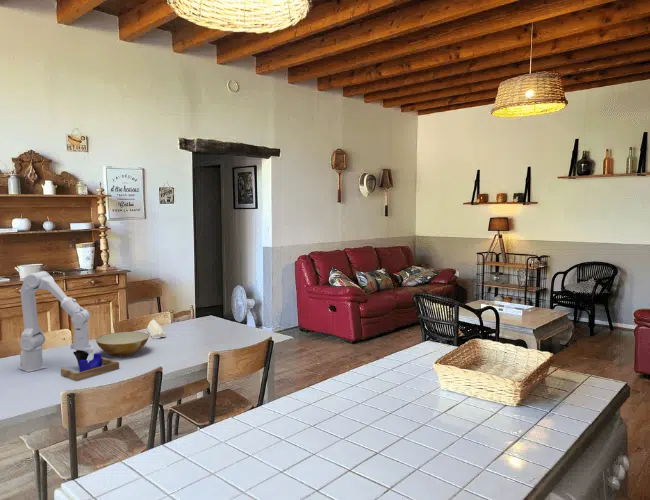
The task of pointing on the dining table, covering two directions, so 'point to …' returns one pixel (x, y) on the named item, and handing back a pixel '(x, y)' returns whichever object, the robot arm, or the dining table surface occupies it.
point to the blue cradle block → (91, 363)
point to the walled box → (91, 370)
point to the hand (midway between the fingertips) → (82, 366)
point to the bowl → (122, 342)
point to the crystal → (155, 329)
